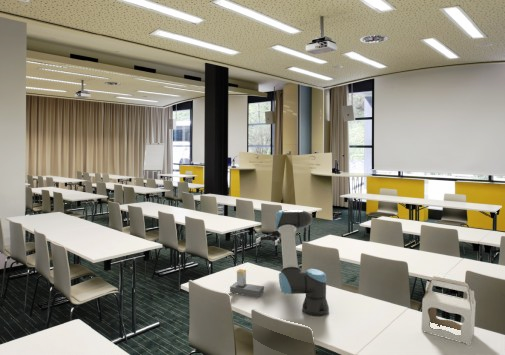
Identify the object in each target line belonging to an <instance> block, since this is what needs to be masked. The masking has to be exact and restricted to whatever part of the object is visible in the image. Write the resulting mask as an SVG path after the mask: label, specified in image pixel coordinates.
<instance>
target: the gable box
mask: <svg viewBox="0 0 505 355" xmlns="http://www.w3.org/2000/svg"><path fill="white" fill-rule="evenodd" d="M434 286H435V287H440V288H444V289H450V290H455V291H458V292H459V291H460V292H463V293H466V295H467V297H466V298H462V297H458V296H453V295H449V294H446V293H441V292H436V291H433V287H434ZM476 304H477V301H476V299H475V290H471V288H470V287H469V283H468V282H464V281H460V280H459V281H458V280H453V279H449V278H444V277H440V276H432V278H431V281H428V280H426V284H425V292H424V295H423V297H422V304H421V306H422V307H421V308H422V309H421V330H422V331H425V332H428V333H427V334H429V333H432V334H436V335H439V336H443V337H447V338H450V339H453V340H457V341H460V342H463V343H467V344H470V345H471V343H472V341H473V339H474V336H473V335H475V324H476V323H475V322H476V307H477V306H476ZM437 309H439V310H441V311H444V312H447V313H449V314H457V315H460V316H462V317H463V318H464V320H463V322H462V324H460V323H457V322H456V321H453V320H451V319H440V318H438V317H437V316H436V315H437V311H438V310H437ZM430 322H431V323H435V324H438V325H437V326H439V327H440V325H442V326H446V327H450V328H454V329H457V330H461V335H455V334H453V333H451V332H449V331H446V330H442V329H433V328H431V327H430ZM421 330H420V331H421ZM422 331H421V332H422ZM425 332H424V333H425ZM432 334H431V335H432ZM436 335H435V336H436ZM439 336H438V337H439ZM443 337H442V338H443ZM453 340H452V341H453ZM471 340H472V341H471ZM460 342H459V343H460ZM470 342H471V343H470ZM463 343H462V344H463ZM467 344H466V345H467Z"/></svg>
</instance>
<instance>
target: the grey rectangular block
mask: <svg viewBox="0 0 505 355" xmlns="http://www.w3.org/2000/svg"><path fill="white" fill-rule="evenodd" d="M230 292H232V293H231V294H235V293H238V294H237V295H240V294H243V295H242V296H246V295H247V296H248V297H251V298H252V297H253V298H260V297H261V296H262V295H263V294H264V293H265V286H263V285H257V284H252V283H251V284H250V283H246V286H245V287H244V288H241V287H237V281H236V282H234V283H233V284H232V285H231V286H229V293H230Z"/></svg>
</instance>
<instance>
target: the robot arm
mask: <svg viewBox="0 0 505 355" xmlns="http://www.w3.org/2000/svg"><path fill="white" fill-rule="evenodd" d="M312 223H313V216H312V214H311V213H310V212H309V211H306V210H302V209H300V210H299V209H298V210H297V209H295V210H294V209H292V210H289V209H288V210H284V209H283V210H278V211H276V212H275V228H274V230H272V231H271V232H270V233H269V234H268V235H267V234H263V235H262V234H261V235H257V236H256V237H255V244H259V243H260V242H261V241H272V242H274V246H277V245H279V244H281V254H282V256H281V257H282V267H283V268H281V269H280V272H279V273H278V283H279V288H280V291H281V292H282V293H283V294H285V295H294V294H297V295H298V294H299V295H300V294H303V295H305V296H304V300H303V304H302V306H301V307H302V308H301V310H302V311H303V313H304V314H306V315H308V316H314V317H322V316H326V315H327V314H329V312H330V307H329V304H328V300H327V275H326V273H325V272H324V271H322V270H320V269H316V268H307V269H306V270H305V272H302V269H301V268H300V267H299V266H298V256H297V255H298V254H297V246H296V245H297V244H296V236H295V232H297V229H304V228H307V227H309V226H310V225H312Z"/></svg>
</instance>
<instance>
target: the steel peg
mask: <svg viewBox="0 0 505 355" xmlns="http://www.w3.org/2000/svg"><path fill="white" fill-rule="evenodd" d="M236 282H237V287H241V288H244V287H245V286H246V284H247V269H241V268H240V269H238V270H237V271H236Z"/></svg>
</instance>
